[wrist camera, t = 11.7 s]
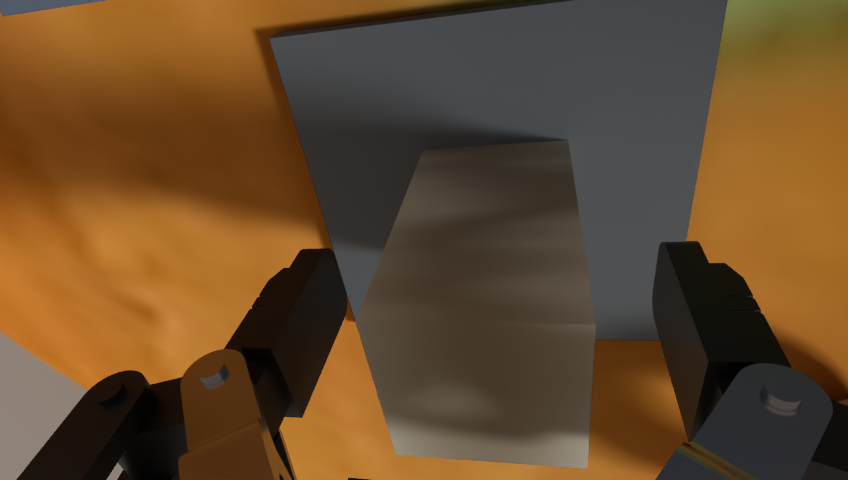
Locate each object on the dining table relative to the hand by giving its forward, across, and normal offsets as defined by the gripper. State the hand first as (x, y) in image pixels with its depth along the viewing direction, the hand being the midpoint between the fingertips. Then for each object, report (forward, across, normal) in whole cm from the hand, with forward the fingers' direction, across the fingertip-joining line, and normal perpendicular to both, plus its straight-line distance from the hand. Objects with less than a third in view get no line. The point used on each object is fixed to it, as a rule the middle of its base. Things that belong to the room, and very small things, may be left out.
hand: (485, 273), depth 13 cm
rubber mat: (+4, 0, 0) cm, 4 cm away
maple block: (+3, 0, 0) cm, 3 cm away
